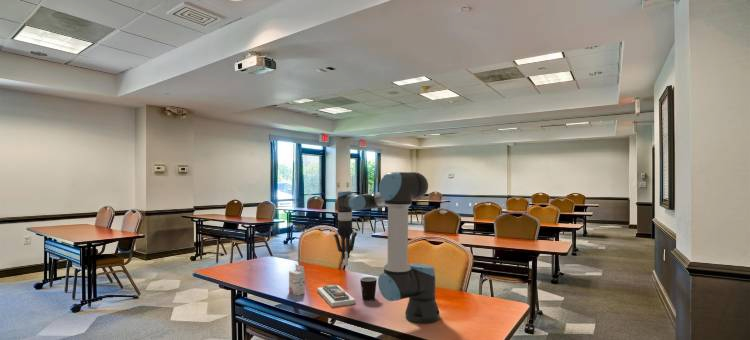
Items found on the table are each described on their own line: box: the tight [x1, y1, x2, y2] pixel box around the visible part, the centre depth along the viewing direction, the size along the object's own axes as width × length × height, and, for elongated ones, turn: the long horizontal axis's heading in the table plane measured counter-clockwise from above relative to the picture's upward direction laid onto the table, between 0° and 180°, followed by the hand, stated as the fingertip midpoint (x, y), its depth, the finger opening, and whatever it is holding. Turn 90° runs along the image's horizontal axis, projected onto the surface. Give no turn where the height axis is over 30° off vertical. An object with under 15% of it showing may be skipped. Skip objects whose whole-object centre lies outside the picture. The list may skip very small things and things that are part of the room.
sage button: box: [325, 284, 336, 289], centre depth 207 cm, size 5×5×2 cm
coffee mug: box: [359, 276, 378, 301], centre depth 199 cm, size 12×9×10 cm
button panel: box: [316, 284, 356, 308], centre depth 200 cm, size 28×12×3 cm, turn 23°
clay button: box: [335, 289, 346, 296], centre depth 193 cm, size 5×5×2 cm
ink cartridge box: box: [288, 264, 306, 296], centre depth 208 cm, size 9×5×15 cm, turn 47°
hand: (345, 264), depth 201 cm, fingers closed
